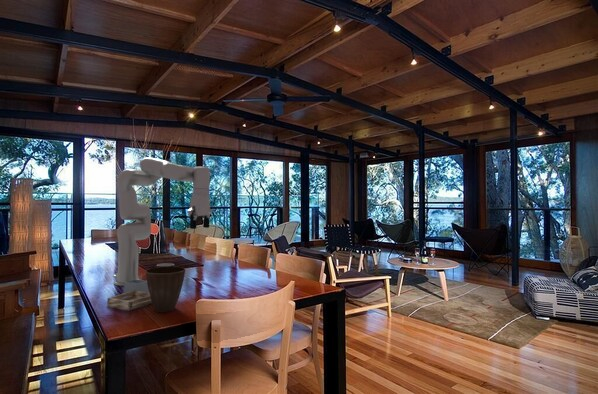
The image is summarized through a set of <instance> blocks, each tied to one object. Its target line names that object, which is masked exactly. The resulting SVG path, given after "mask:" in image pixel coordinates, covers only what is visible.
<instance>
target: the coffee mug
mask: <svg viewBox="0 0 598 394" xmlns="http://www.w3.org/2000/svg"><path fill="white" fill-rule="evenodd" d="M157 267H175V264H174V263H170V262H166V263H158V264H156V266H152V267H150V268H149V269H151V268H157Z"/></svg>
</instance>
